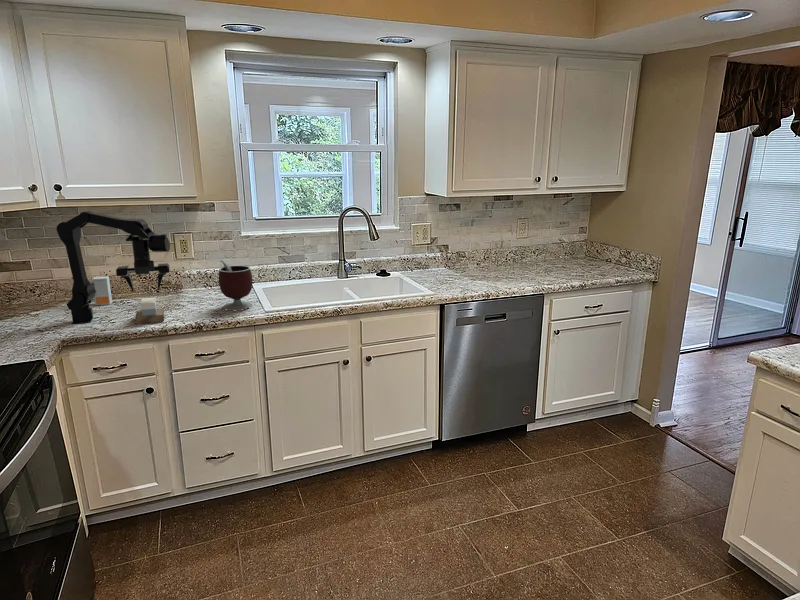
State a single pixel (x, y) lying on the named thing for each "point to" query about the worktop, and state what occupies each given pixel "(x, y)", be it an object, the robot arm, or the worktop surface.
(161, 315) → the walnut stand
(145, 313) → the base plate
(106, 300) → the skincare box
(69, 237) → the robot arm
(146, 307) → the lid plate
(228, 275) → the mate gourd
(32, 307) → the worktop surface
